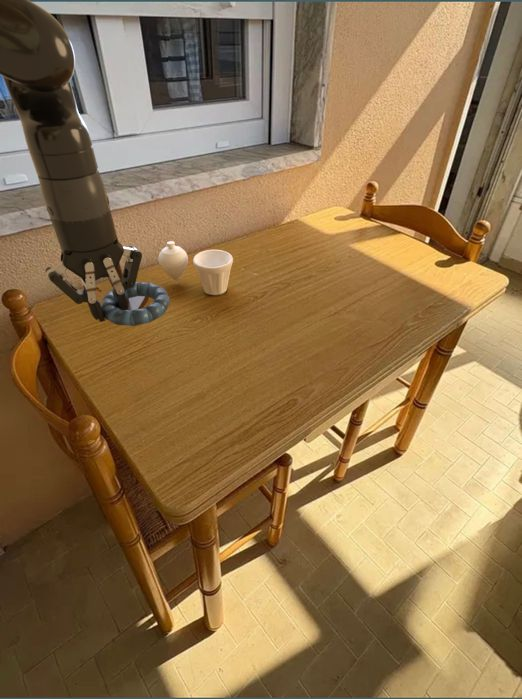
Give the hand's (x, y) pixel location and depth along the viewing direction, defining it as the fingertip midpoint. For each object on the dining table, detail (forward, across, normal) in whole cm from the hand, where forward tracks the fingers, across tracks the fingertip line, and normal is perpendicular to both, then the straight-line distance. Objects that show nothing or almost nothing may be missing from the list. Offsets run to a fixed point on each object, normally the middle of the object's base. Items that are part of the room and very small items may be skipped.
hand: (111, 315), depth 61 cm
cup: (+19, -32, -24) cm, 44 cm away
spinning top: (+19, -25, -32) cm, 45 cm away
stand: (+19, -9, -30) cm, 36 cm away
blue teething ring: (-1, -4, 0) cm, 4 cm away
